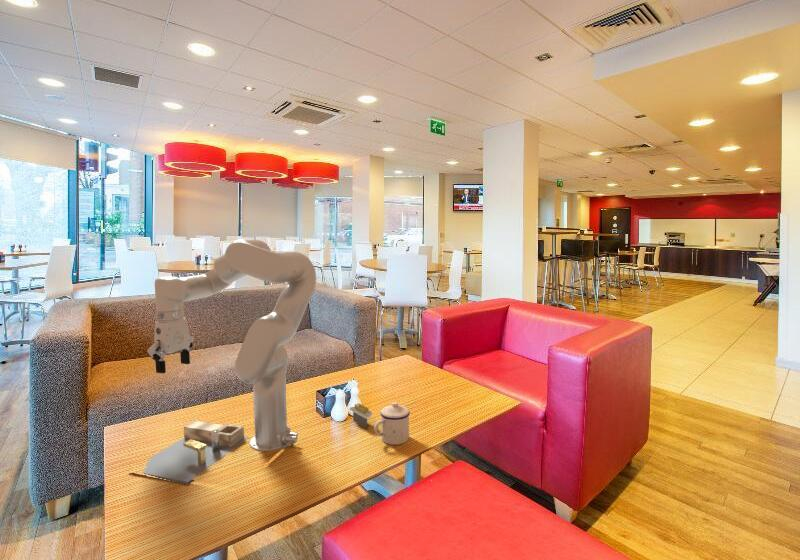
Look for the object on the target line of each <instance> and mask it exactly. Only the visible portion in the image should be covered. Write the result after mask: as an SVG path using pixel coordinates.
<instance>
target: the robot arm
mask: <svg viewBox="0 0 800 560" xmlns="http://www.w3.org/2000/svg"><path fill="white" fill-rule="evenodd" d="M245 276H249V277H251V278H252V277H253V278H255V279H257V280H261V281H263V282H267V283H270V284H283V283H286V285H285V287H284V288H283V290H282V291H281V292H280V294H279V296H278V299H277V301H276V303H275V306H274V308H273V310H272V311H271V312H270V313H269V314H267V315H264V316H261V317H259V318H258V319H256V320H254V322H253V323H252V324H251V326H250V327H249V329H248V331H247V333H246V336H245V338H244V339H243V343H242V345H241V347H240V350H239V352H238V354H237V358H236V360H235V366H234V368H235V374H236V376H237V378H238V379H239V380H240V381H241V382H243V383H244V384H248V385H250V384H253V390H252V391H253V397H252V399H253V420H254V421H253V422H254V423H253V424H254V436H253V437H252V438H251V439H250V441H249V446H250V447H251V448H252V449H253V450H255V451H260V452H269V451H276V450H280V451H282V450H283V449H286V448H287V447H289V446H290V445H291V444H296V443H297V442H298V437H299V434H298V432H292V430H291V426H288V418H287V415H288V413H287V411H288V410H287V371H288V361H289V356H288V355H289V354H288V351H287V349H286V346H284V344H287V343H288V342H290V341H292V339H293V338H294V337H295V335H296V333H297V331H298V328H299V326H300V323H301V322H302V319H303V317H304V315H305V312H306V310H307V308H308V305H309V302H310V300H311V298H312V296H313V293H314V292H315V288H316V284H317V274H316V269H315V266H314V264H313V263H312V261H311V259H310V258H309V257H308V256H306V255H305V254H303V253H301V252H298V251H281V252H274V251H271V247H270V246H269V245H268V244H267V243H266V242H264V241H263V240H261V239H237V240H235V241H232V242H231V243H230V244H228V246H227V247H226V249H225V252H224V254H222V255H219V256H218V257H216V258H215V260H214V262H213V269H211V270H209V271H207V272H205V273H203V274H200V275H199V274H198V275H190V276H184V277H179V276H160V277H158V278H155V280H154V294H155V295H154V296H155V309H156V314H155V315H154V319H155V320H156V321H155V325H154V340H153V341H154V342H153V344H152V345H150V347H148V348H147V349H146V351H147V353H148V355H149V357H150V358H151V359H152V360H153V362H155V371H156V372H155V373H156V374H166V371H167V369H166V367H167V366H166V360H164V359H165V357H166V355H167V354H173V353H177V352H179V351H180V353H179V354H180V364H182V365H183V364H184V365H190V364H191V359H190V353H191V351H192V349H191V348H192V347H193V345H194V339H195V336H193V335H190V330H189V325H188V322H187V321H188V320H187V318H186V317H185V315H184V302H191V301H195V300H200V299H206V298H209V297H211V296H214V295H215V294H217V293H219V292H221V291H223V290H225V289H227V288H228V287H229V286H231V285H232V284H233V283H235V282H236V281H237V280H239V279H241V278H244V277H245Z"/></svg>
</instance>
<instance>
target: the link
mask: <svg viewBox="0 0 800 560" xmlns="http://www.w3.org/2000/svg"><path fill="white" fill-rule="evenodd" d="M216 429H217V430H219V445H223V446H229V447H232V446H233V445H235V444H236V443H237V442H239V441H240V440H242V439H243V438H244V436H245V428H244V426H241V425H235V424H228V423H227V424H226V425H225V424H219V423H212V422H204V421H199V420H193V421H192V422H190V423H188V424H186V425H184V426H183V433H184V434H183V438H189V439H195V440H201V441H207V442H212V435H211V431H212V430H216Z"/></svg>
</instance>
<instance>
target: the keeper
mask: <svg viewBox="0 0 800 560" xmlns="http://www.w3.org/2000/svg"><path fill="white" fill-rule="evenodd" d="M183 446H184V447H187V448H190V449H192V450H195V451H197V454H198V464H199V465H203V464H205V463H206V455H205V449H206V448H207V445H206V444H203V443H201V442H198V441H195V440H192V439H190V440H188V441H186V442H184V443H183Z"/></svg>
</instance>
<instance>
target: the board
mask: <svg viewBox="0 0 800 560" xmlns="http://www.w3.org/2000/svg"><path fill="white" fill-rule="evenodd" d="M249 438H250V437H249V436H246V435H244V438H243V439H242V440H240V441H239V442H237V443H236V444H235V445H233V446H232V447H229V446H223V445H220V450H219V451H216V452H213V451H212V442H207V441H201V440H195V439H192V440H195V441H198V442H201V443H203V444H206V445H207V448H206V449H205V455H206V463H205V464H203V465H199V464H198V454H197V451H195V450H192V449H190V448H187V447H184V446H183V443H184V442H186V441H188V440H190V439H189V438H184V437H182V438H181V439H179V440H177V441H176V442H174V443H172V444H170V445H169V446H168V447H166V448H164V449H162V450H161V451H159V452H157V453H156V454H154V455H152V456H151V457H152V458H151V457H149V458H150V459H151V460H150V459H149V458H147V459H148V460H149V461H150V462H149V461H148V462H147V465H146V466H147V468H146V466H145V468H146V469H145V468H144V470H145V471H144V470H143V471H144V472H142V473H144V474H148V475H151V476H155V477H158V478H162V479H166V480H170V481H169V482H171V481H175V482H174V483H176V482H178V483H177V484H181V483H182V484H181V485H187V486H189V485H190V484H192V483H193V482H194V481H195V479H194V478H196V477H197V476H198V475H201V473H203V472H204V471H206V469H208V468H209V467H211V466H212V465H214V464H215V463H216V462H217V461H219V460H220V459H222V458H223V457H224V456H226V455H228V453H230V452H231V451H232V450H234V449H236V448H237V447H238V446H239V445H241V444H242V443H244V442H245V441H246V440H248V439H249ZM143 466H144V465H143ZM141 470H142V469H141ZM166 480H165V481H166ZM191 482H192V483H191Z"/></svg>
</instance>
